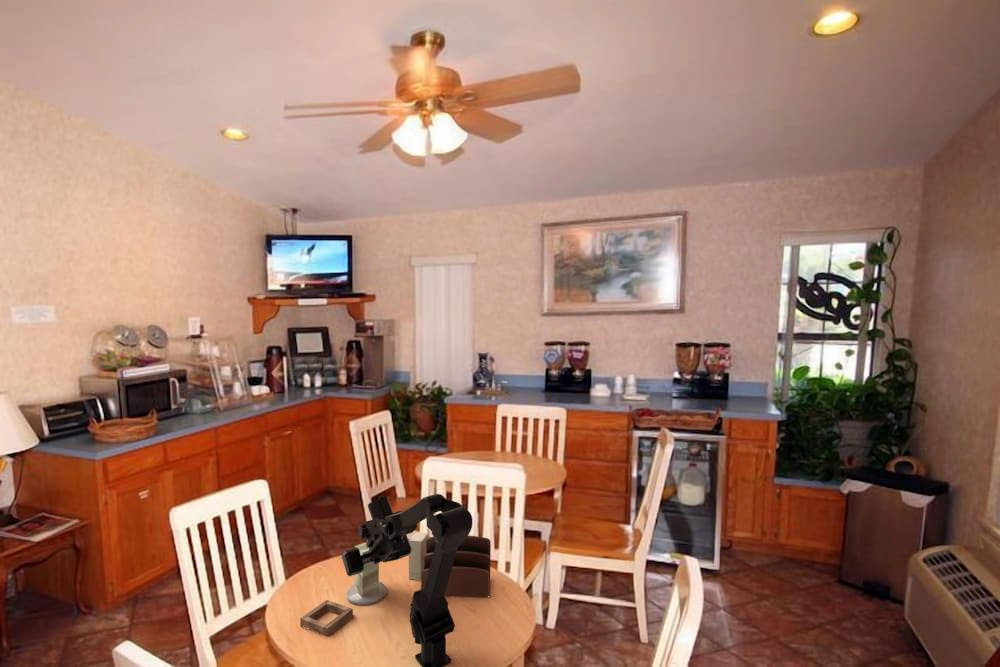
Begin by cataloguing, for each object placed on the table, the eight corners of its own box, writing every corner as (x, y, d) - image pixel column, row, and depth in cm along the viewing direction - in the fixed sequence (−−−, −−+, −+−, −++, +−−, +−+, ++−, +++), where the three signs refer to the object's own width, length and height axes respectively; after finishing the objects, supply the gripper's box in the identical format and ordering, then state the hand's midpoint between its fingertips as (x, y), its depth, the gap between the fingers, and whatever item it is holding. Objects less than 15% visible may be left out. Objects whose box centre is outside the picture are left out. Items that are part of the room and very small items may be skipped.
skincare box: (421, 581, 148) (421, 541, 148) (407, 579, 149) (407, 540, 149) (428, 570, 155) (428, 532, 154) (415, 568, 155) (415, 531, 155)
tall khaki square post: (378, 591, 141) (378, 547, 140) (362, 597, 138) (362, 552, 137) (370, 584, 145) (371, 540, 144) (354, 590, 141) (354, 546, 141)
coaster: (392, 596, 140) (392, 593, 140) (354, 610, 133) (354, 606, 133) (377, 579, 149) (377, 576, 149) (341, 591, 142) (341, 588, 142)
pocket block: (352, 616, 131) (352, 608, 131) (327, 636, 123) (327, 628, 122) (326, 606, 135) (326, 599, 135) (300, 625, 126) (300, 618, 126)
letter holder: (426, 578, 150) (426, 533, 150) (490, 579, 150) (491, 534, 150) (420, 597, 140) (420, 549, 140) (489, 598, 140) (490, 550, 140)
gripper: (406, 505, 141) (388, 530, 150) (344, 523, 129) (328, 549, 138) (420, 541, 136) (401, 565, 144) (357, 563, 124) (339, 588, 132)
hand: (368, 565), depth 140 cm, fingers open, 9 cm apart
